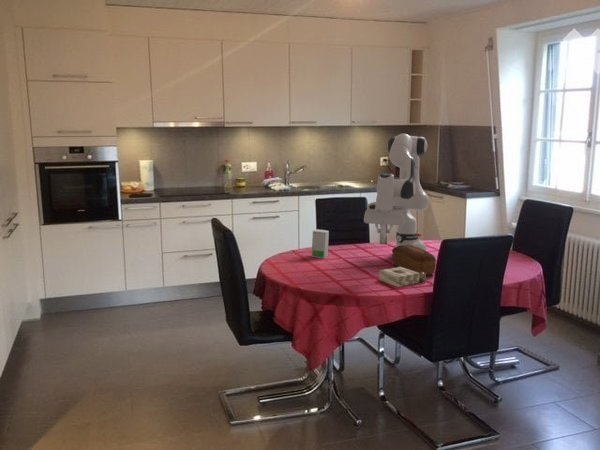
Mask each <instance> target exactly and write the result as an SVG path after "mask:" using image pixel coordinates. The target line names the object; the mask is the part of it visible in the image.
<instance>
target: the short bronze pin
mask: <svg viewBox="0 0 600 450" xmlns="http://www.w3.org/2000/svg"><path fill="white" fill-rule="evenodd" d="M426 278H427V275H426V273H425V272H419V283H421V282H424V283H426V282H427V281H426V280H427V279H426Z"/></svg>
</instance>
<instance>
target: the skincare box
mask: <svg viewBox="0 0 600 450" xmlns="http://www.w3.org/2000/svg"><path fill="white" fill-rule="evenodd" d="M329 233H330V231H329V230H326V229H318V228H316V229H313V230H312V239H311V240H312V243H311V244H312V245H311V257H312V258H316V259H317V258H318V259H325V258H327V257H328V253H329V238H330V237H329V235H330V234H329Z"/></svg>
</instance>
